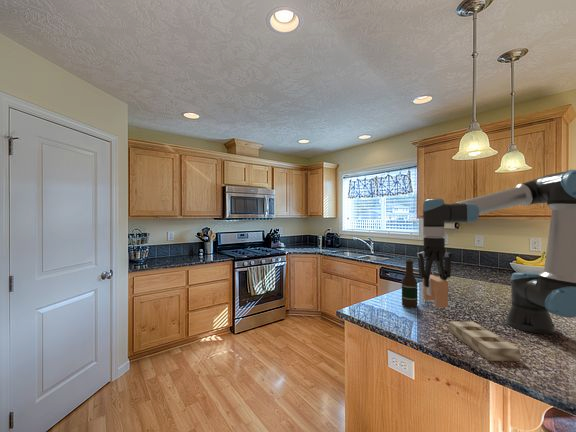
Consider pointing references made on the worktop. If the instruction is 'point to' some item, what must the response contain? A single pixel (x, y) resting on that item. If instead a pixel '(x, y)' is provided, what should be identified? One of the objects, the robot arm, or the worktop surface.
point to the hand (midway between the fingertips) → (434, 294)
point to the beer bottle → (409, 287)
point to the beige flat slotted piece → (485, 341)
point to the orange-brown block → (437, 291)
